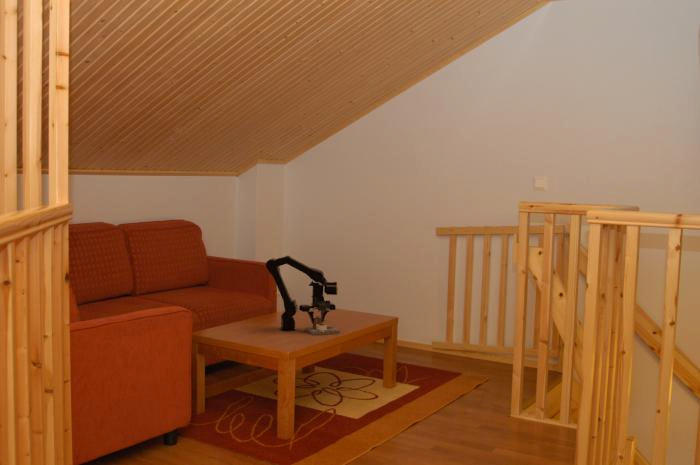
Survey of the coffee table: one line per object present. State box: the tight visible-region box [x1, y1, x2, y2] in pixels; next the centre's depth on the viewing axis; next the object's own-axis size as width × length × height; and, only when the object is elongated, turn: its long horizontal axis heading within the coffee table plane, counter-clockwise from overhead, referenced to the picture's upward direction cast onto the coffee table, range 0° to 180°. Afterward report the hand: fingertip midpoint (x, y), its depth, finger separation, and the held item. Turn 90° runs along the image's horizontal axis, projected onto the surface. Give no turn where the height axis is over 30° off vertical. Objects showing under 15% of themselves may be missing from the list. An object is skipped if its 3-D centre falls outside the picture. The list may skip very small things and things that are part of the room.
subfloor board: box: [304, 325, 341, 336], centre depth 413 cm, size 15×12×2 cm
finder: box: [316, 323, 328, 331], centre depth 409 cm, size 4×5×3 cm
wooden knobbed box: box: [312, 315, 323, 329], centre depth 415 cm, size 4×4×6 cm
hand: (317, 323), depth 415 cm, fingers open, 5 cm apart
